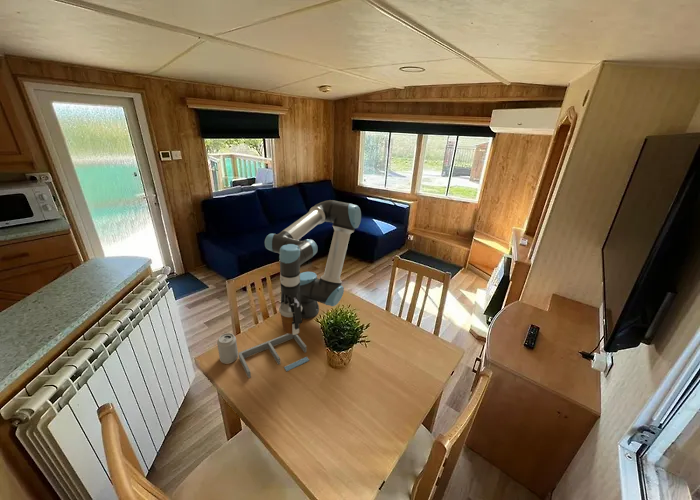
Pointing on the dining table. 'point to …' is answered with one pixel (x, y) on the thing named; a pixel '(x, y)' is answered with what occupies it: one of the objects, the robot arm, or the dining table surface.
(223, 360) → the can
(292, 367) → the blue rectangular block
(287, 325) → the disposable coffee cup
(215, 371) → the dining table surface
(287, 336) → the comb rack
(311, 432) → the dining table surface
